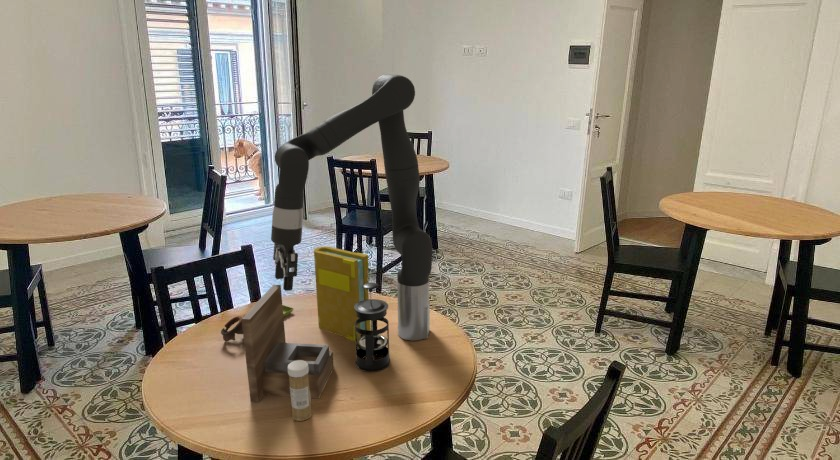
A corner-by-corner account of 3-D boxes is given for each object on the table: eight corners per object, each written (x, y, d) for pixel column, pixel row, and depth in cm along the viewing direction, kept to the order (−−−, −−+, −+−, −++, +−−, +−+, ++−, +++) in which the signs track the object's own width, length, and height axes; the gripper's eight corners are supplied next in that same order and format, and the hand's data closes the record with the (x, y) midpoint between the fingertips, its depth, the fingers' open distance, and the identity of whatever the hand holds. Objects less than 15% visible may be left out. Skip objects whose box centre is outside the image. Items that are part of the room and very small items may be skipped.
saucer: (295, 314, 176) (294, 308, 175) (275, 324, 169) (274, 318, 168) (275, 308, 180) (275, 302, 179) (255, 318, 173) (255, 312, 172)
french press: (358, 352, 152) (355, 276, 145) (391, 352, 151) (390, 276, 144) (352, 375, 140) (348, 294, 134) (387, 376, 140) (386, 294, 133)
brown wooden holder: (336, 361, 147) (332, 287, 140) (315, 405, 128) (309, 322, 121) (279, 358, 148) (273, 284, 142) (250, 401, 129) (241, 318, 123)
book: (370, 332, 163) (368, 254, 155) (356, 342, 157) (353, 261, 150) (328, 319, 171) (324, 244, 164) (313, 327, 166) (308, 251, 158)
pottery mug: (256, 349, 154) (238, 330, 151) (230, 359, 157) (212, 340, 153) (268, 321, 164) (252, 302, 161) (244, 331, 167) (228, 312, 164)
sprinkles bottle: (313, 409, 126) (310, 359, 122) (309, 422, 122) (305, 370, 118) (294, 409, 126) (290, 359, 122) (289, 422, 122) (285, 370, 118)
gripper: (310, 231, 132) (305, 293, 136) (294, 217, 144) (290, 274, 148) (279, 231, 128) (275, 295, 132) (265, 216, 140) (262, 275, 144)
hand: (283, 284), depth 140 cm, fingers open, 8 cm apart
